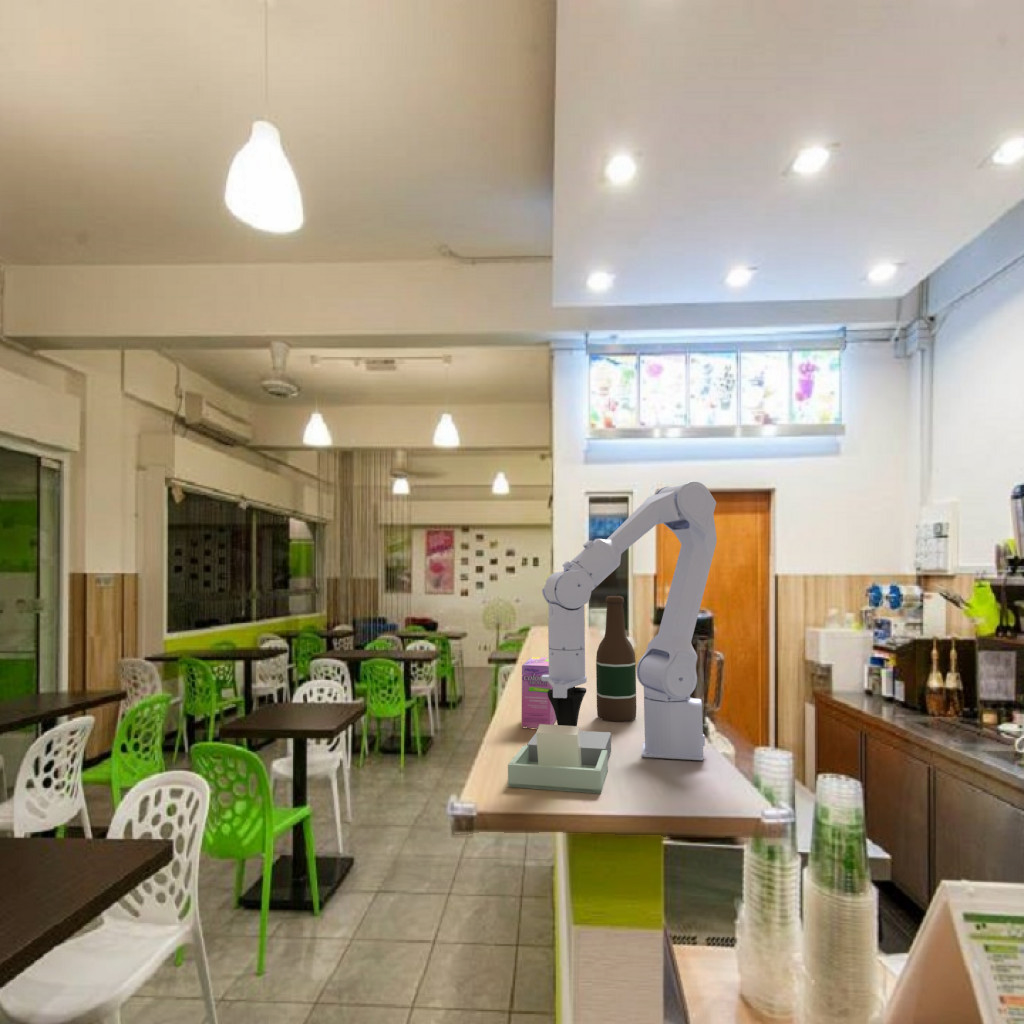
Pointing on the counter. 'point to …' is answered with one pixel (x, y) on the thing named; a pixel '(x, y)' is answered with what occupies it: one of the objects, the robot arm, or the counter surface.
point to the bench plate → (582, 747)
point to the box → (536, 694)
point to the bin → (556, 774)
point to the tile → (559, 745)
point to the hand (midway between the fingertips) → (567, 736)
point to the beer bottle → (615, 668)
